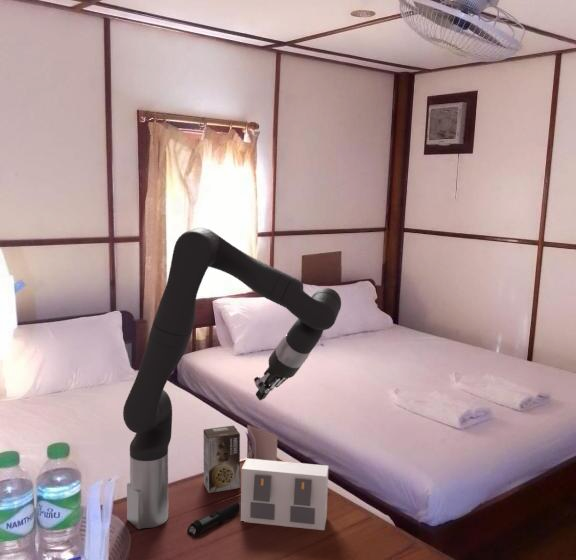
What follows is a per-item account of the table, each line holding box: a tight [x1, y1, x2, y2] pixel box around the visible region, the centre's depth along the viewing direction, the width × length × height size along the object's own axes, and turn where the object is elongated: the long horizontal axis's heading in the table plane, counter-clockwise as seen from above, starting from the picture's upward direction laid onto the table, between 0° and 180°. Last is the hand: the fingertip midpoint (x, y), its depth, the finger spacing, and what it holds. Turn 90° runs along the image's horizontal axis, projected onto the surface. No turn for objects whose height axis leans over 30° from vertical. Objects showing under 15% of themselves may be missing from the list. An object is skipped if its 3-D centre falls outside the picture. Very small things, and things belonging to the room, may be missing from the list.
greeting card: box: [245, 424, 278, 461], centre depth 172 cm, size 11×7×15 cm, turn 15°
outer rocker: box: [293, 478, 312, 506], centre depth 147 cm, size 4×1×6 cm, turn 81°
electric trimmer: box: [186, 501, 241, 538], centre depth 151 cm, size 4×16×3 cm, turn 138°
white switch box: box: [240, 457, 329, 531], centre depth 152 cm, size 21×6×14 cm, turn 81°
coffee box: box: [203, 425, 241, 494], centre depth 169 cm, size 9×6×16 cm
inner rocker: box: [253, 475, 271, 502], centre depth 148 cm, size 4×1×6 cm, turn 81°
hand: (259, 396), depth 156 cm, fingers closed
